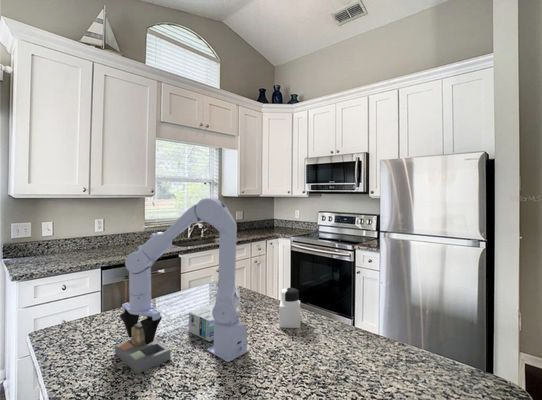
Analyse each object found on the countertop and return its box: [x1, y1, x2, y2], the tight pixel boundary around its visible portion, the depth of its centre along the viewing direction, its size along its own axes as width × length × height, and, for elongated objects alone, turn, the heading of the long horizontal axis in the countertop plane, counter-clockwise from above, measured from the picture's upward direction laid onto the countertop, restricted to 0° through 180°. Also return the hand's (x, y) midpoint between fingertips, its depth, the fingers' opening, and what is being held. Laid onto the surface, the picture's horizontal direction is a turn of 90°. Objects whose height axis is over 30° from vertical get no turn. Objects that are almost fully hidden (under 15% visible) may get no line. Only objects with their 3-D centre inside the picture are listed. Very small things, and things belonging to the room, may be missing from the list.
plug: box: [131, 322, 146, 348], centre depth 85 cm, size 3×3×7 cm
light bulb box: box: [188, 303, 216, 342], centre depth 96 cm, size 11×7×11 cm
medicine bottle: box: [278, 287, 301, 329], centre depth 102 cm, size 7×7×12 cm
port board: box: [114, 338, 172, 375], centre depth 81 cm, size 14×9×3 cm, turn 49°
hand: (140, 339), depth 85 cm, fingers open, 7 cm apart
